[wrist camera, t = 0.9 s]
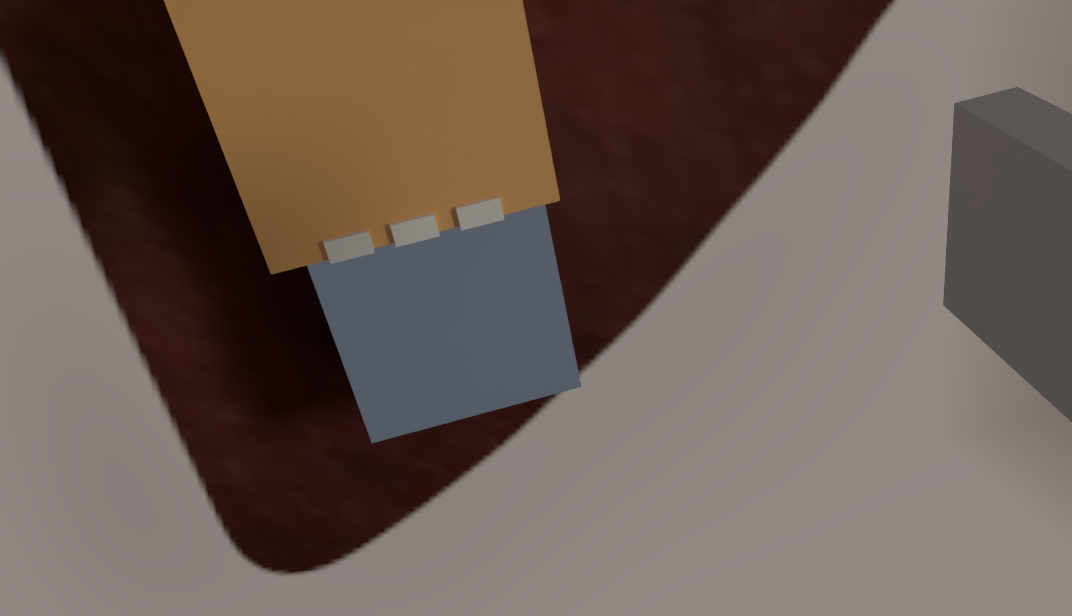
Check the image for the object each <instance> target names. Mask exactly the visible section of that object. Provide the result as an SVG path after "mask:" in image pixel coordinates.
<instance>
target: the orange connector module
mask: <svg viewBox="0 0 1072 616" xmlns="http://www.w3.org/2000/svg"><path fill="white" fill-rule="evenodd" d="M164 2H165V5H166V7H167V10H168V13H169V15H170V18H171V20H172V23H173V25H174V28H175V30H176V33H177V36H178V38H179V41H180V43H181V46H182V48H183V51H184V53H185V56H186V59H187V61H188V64H189V66H190V69H191V71H192V74H193V76H194V79H195V81H196V84H197V87H198V89H199V92H200V94H201V97H202V99H203V102H204V104H205V107H206V110H207V112H208V115H209V117H210V120H211V122H212V125H213V127H214V130H215V133H216V135H217V138H218V140H219V143H220V145H221V148H222V150H223V153H224V155H225V158H226V161H227V163H228V166H229V168H230V171H231V173H232V176H233V178H234V181H235V184H236V186H237V189H238V191H239V194H240V196H241V199H242V201H243V204H244V207H245V209H246V212H247V214H248V217H249V219H250V222H251V224H252V227H253V230H254V232H255V235H256V237H257V240H258V242H259V245H260V247H261V250H262V252H263V255H264V258H265V260H266V263H267V265H268V268H269V270H270V273H271V275H272V274H275V273H279V272H283V271H287V270H291V269H295V268H299V267H303V266H307V265H311V264H315V263H318V262H322V261H326V260H329V261H330V264H334V263H337V262H341V261H345V260H349V259H353V258H357V257H361V256H365V255H369V254H373V253H375V252H374V248H377V247H381V246H385V245H389V244H393V243H395V244H396V247H400V246H404V245H408V244H412V243H416V242H419V241H423V240H427V239H431V238H435V237H439V236H440V235H439V231H443V230H447V229H451V228H455V227H459V226H460V227H461V231H462V230H466V229H470V228H474V227H478V226H482V225H486V224H490V223H494V222H497V221H501V220H505V219H504V215H506V214H510V213H514V212H518V211H521V210H525V209H529V208H533V207H537V206H541V205H545V204H549V203H553V202H557V201H560V197H559V192H558V187H557V181H556V176H555V171H554V166H553V160H552V155H551V150H550V144H549V139H548V134H547V128H546V123H545V118H544V113H543V107H542V102H541V97H540V91H539V86H538V81H537V75H536V70H535V65H534V59H533V54H532V49H531V44H530V38H529V33H528V28H527V22H526V17H525V12H524V6H523V1H522V0H164Z"/></svg>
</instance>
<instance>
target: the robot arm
mask: <svg viewBox="0 0 1072 616" xmlns="http://www.w3.org/2000/svg"><path fill="white" fill-rule="evenodd" d="M943 304H944V306H945V307H946V308H947V309H949V311H951V313H953V314H954V315H955V316H956V317H957V318H958V319H959V320H960V321H961V322H962V323H964V324H965V325H966V326H967V327H968V328H969V329H970V330H971V331H973V333H975V334H976V335H977V336H978V337H979V338H980V339H981V340H982V341H983V342H984V343H985V344H987V345H988V346H989V347H990V348H991V349H992V350H993V351H994V352H995V353H996V354H998V355H999V356H1000V357H1001V358H1002V359H1003V360H1004V361H1005V362H1006V363H1007V364H1009V365H1010V366H1011V367H1012V368H1013V369H1014V370H1015V371H1016V372H1017V373H1019V375H1021V376H1022V377H1023V378H1024V379H1025V380H1026V381H1027V382H1028V383H1029V384H1030V385H1032V386H1033V387H1034V388H1035V389H1036V390H1037V391H1038V392H1039V393H1040V394H1041V395H1043V396H1044V397H1045V398H1046V399H1047V400H1048V401H1049V402H1050V403H1051V404H1052V405H1054V406H1055V407H1056V408H1057V409H1058V410H1059V411H1060V412H1061V413H1063V415H1064V416H1066V417H1067V418H1068V419H1069V420H1070V421H1071V422H1072V114H1071V113H1069V112H1067V111H1064V110H1062V109H1060V108H1058V107H1057V106H1055V105H1053V104H1051V103H1049V102H1047V101H1045V100H1042V99H1041V98H1039V97H1037V96H1035V95H1033V94H1031V93H1029V92H1027V91H1025V90H1023V89H1020V88H1019V87H1016V88H1012V89H1008V90H1004V91H1000V92H996V93H992V94H988V95H985V96H981V97H977V98H973V99H969V100H965V101H961V102H958V103H955V104H954V123H953V140H952V158H951V176H950V195H949V212H948V231H947V248H946V266H945V285H944V302H943Z"/></svg>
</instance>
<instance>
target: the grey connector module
mask: <svg viewBox="0 0 1072 616" xmlns="http://www.w3.org/2000/svg"><path fill="white" fill-rule="evenodd" d="M504 219H505V220H501V221H497V222H494V223H490V224H486V225H482V226H478V227H474V228H470V229H466V230H462V231H461V227H460V226H459V227H455V228H451V229H447V230H443V231H439V235H440V236H439V237H435V238H431V239H427V240H423V241H419V242H416V243H412V244H408V245H404V246H400V247H396V244H395V243H393V244H389V245H385V246H381V247H377V248H374V252H375V253H373V254H369V255H365V256H361V257H357V258H353V259H349V260H345V261H341V262H337V263H334V264H330V261H329V260H326V261H322V262H318V263H315V264H311V265H307V267H308V270H309V272H310V275H311V278H312V281H313V283H314V286H315V289H316V292H317V294H318V297H319V300H320V303H321V305H322V308H323V311H324V314H325V316H326V319H327V322H328V324H329V327H330V330H331V333H332V335H333V338H334V341H335V344H336V346H337V349H338V352H339V355H340V357H341V360H342V363H343V365H344V368H345V371H346V374H347V376H348V379H349V382H350V385H351V387H352V390H353V393H354V396H355V398H356V401H357V404H358V407H359V409H360V412H361V415H362V417H363V420H364V423H365V426H366V428H367V431H368V434H369V437H370V439H371V442H372V443H374V442H378V441H382V440H385V439H389V438H393V437H396V436H400V435H404V434H407V433H411V432H415V431H419V430H422V429H426V428H430V427H433V426H437V425H441V424H445V423H448V422H452V421H456V420H459V419H463V418H467V417H471V416H474V415H478V414H482V413H485V412H489V411H493V410H497V409H500V408H504V407H508V406H511V405H515V404H519V403H522V402H526V401H530V400H534V399H537V398H541V397H545V396H548V395H552V394H556V393H560V392H563V391H567V390H571V389H574V388H578V387H581V383H580V378H579V373H578V368H577V363H576V358H575V353H574V348H573V343H572V338H571V333H570V328H569V323H568V318H567V313H566V308H565V303H564V298H563V292H562V287H561V282H560V277H559V272H558V267H557V262H556V257H555V252H554V247H553V242H552V237H551V232H550V227H549V222H548V217H547V212H546V207H545V205H541V206H537V207H533V208H529V209H525V210H521V211H518V212H514V213H510V214H506V215H504Z"/></svg>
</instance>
